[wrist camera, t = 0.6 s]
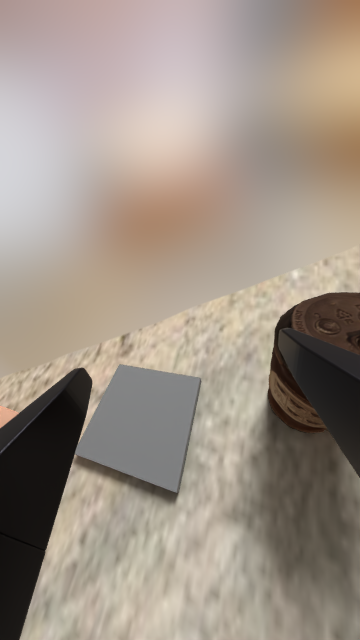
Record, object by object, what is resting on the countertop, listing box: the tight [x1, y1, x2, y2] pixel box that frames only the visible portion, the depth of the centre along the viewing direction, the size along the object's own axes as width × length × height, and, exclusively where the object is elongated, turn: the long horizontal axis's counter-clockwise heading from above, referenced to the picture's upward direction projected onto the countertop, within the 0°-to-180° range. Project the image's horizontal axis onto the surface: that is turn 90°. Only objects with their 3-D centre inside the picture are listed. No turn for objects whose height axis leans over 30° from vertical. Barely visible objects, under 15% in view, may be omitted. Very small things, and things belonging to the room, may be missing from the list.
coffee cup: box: [268, 292, 360, 433], centre depth 16 cm, size 9×8×13 cm
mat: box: [75, 364, 201, 493], centre depth 23 cm, size 11×12×1 cm
